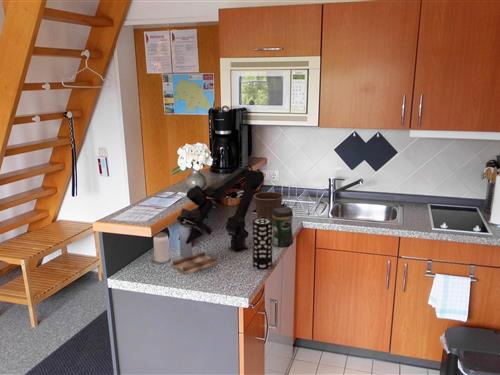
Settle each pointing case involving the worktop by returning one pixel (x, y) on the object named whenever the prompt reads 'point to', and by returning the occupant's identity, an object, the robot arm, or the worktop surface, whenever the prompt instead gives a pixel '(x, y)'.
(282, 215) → the coffee jar
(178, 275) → the worktop surface
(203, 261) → the track
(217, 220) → the worktop surface
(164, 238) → the can
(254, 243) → the white-spotted black cylinder
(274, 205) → the plant pot
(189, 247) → the grey translucent cylinder
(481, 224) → the worktop surface
